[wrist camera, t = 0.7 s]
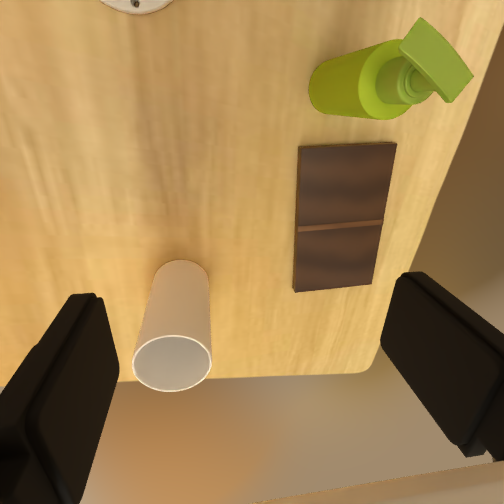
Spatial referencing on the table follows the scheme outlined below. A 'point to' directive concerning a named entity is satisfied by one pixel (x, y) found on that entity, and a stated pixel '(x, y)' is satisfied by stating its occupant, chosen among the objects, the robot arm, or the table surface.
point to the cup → (175, 329)
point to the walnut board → (340, 213)
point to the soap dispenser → (390, 76)
